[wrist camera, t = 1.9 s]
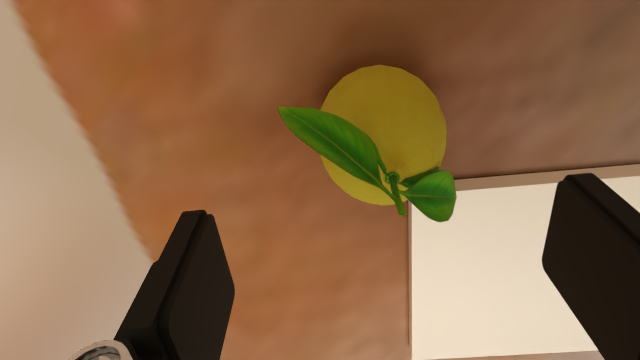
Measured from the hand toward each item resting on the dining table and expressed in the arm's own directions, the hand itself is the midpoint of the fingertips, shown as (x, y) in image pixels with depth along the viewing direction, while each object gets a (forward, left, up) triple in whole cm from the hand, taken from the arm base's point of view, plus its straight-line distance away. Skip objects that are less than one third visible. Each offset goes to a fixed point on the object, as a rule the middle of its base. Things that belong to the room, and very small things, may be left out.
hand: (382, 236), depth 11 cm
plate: (-10, +12, -11) cm, 19 cm away
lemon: (-1, 0, -11) cm, 11 cm away
